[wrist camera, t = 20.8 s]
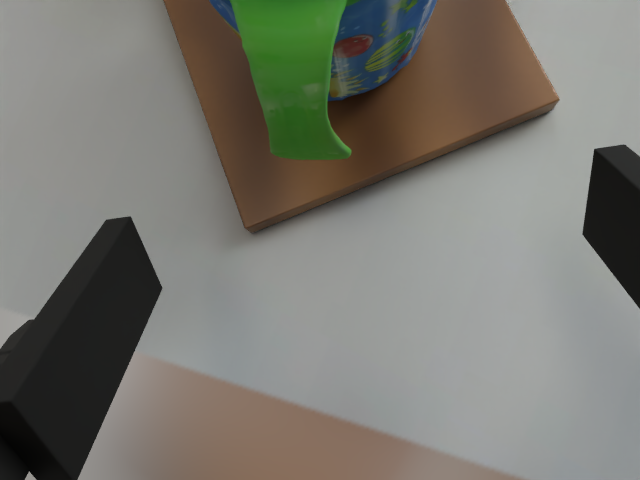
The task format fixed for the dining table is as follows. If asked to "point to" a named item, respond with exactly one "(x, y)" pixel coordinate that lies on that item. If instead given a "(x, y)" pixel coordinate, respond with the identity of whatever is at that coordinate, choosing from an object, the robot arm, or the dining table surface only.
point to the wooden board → (365, 105)
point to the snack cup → (320, 60)
